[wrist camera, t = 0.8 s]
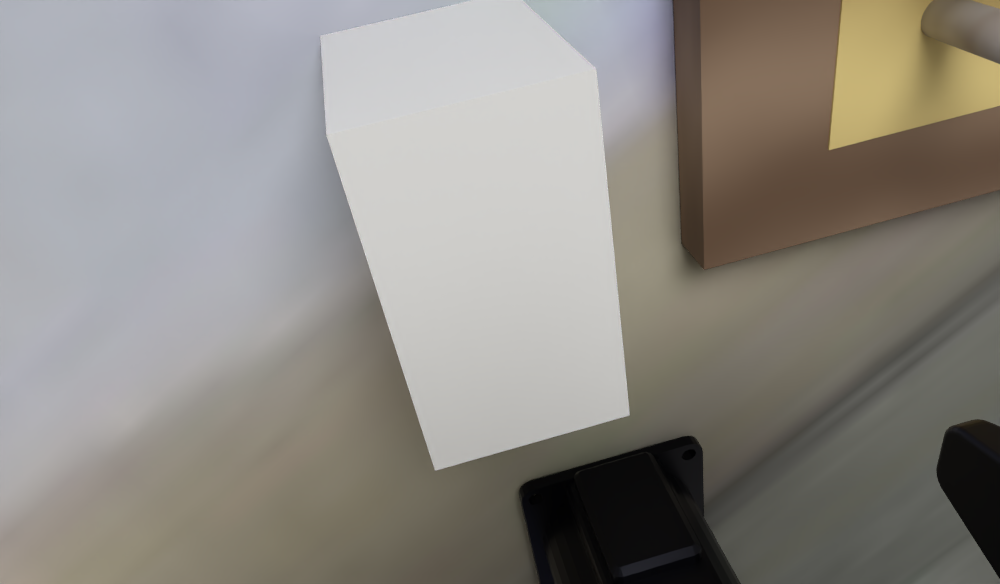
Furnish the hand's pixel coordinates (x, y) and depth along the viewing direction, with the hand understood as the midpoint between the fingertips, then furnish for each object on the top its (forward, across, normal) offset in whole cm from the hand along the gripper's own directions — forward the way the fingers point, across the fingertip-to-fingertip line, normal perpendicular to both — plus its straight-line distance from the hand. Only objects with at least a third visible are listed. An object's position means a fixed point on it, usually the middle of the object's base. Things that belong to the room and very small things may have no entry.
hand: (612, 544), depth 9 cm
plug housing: (+12, 0, 0) cm, 12 cm away
